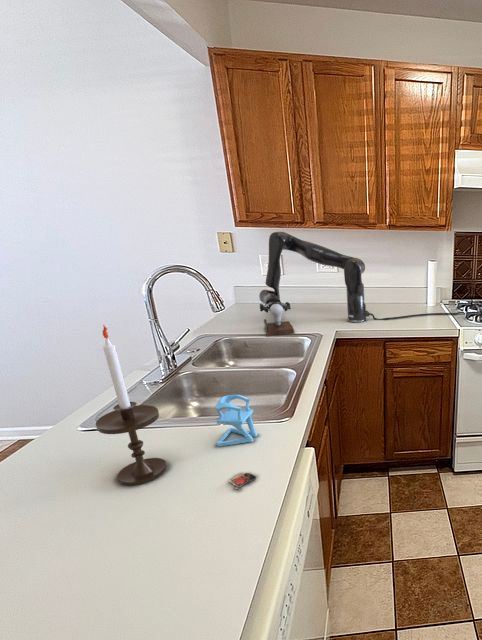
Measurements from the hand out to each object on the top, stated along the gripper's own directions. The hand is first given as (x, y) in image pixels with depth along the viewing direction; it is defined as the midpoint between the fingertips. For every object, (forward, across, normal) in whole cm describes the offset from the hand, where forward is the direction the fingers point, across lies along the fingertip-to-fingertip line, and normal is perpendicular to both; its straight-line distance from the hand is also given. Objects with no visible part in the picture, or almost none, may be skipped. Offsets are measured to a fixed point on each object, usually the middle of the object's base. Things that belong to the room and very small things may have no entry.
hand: (276, 309), depth 192 cm
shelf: (0, 0, +10) cm, 11 cm away
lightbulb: (0, 0, +8) cm, 8 cm away
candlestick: (+106, -41, +11) cm, 115 cm away
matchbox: (+118, -21, +10) cm, 121 cm away
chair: (+99, -21, +11) cm, 102 cm away
